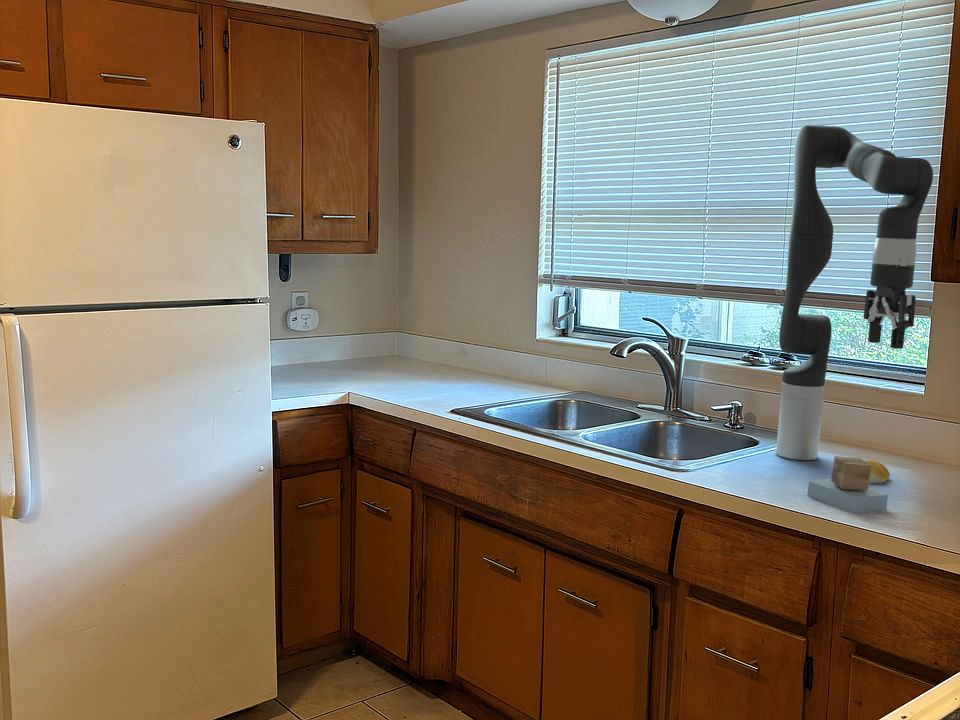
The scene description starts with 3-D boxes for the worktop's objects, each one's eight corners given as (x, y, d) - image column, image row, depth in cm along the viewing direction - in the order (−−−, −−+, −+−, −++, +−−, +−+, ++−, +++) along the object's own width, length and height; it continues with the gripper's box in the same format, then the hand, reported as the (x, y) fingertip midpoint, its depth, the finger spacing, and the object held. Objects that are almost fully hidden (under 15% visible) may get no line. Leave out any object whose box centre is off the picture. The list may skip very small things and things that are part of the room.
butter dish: (807, 498, 177) (808, 479, 176) (836, 494, 180) (838, 475, 179) (855, 516, 166) (857, 496, 165) (886, 512, 169) (888, 492, 169)
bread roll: (891, 478, 193) (893, 460, 192) (882, 487, 186) (884, 468, 185) (851, 471, 197) (853, 453, 197) (841, 479, 190) (842, 461, 190)
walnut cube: (830, 480, 175) (834, 456, 174) (856, 482, 175) (859, 457, 174) (841, 488, 170) (845, 463, 169) (867, 490, 170) (871, 465, 169)
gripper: (856, 260, 179) (849, 340, 182) (894, 263, 165) (885, 350, 168) (892, 261, 180) (884, 341, 182) (933, 264, 166) (923, 351, 168)
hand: (884, 345), depth 175 cm, fingers open, 8 cm apart
